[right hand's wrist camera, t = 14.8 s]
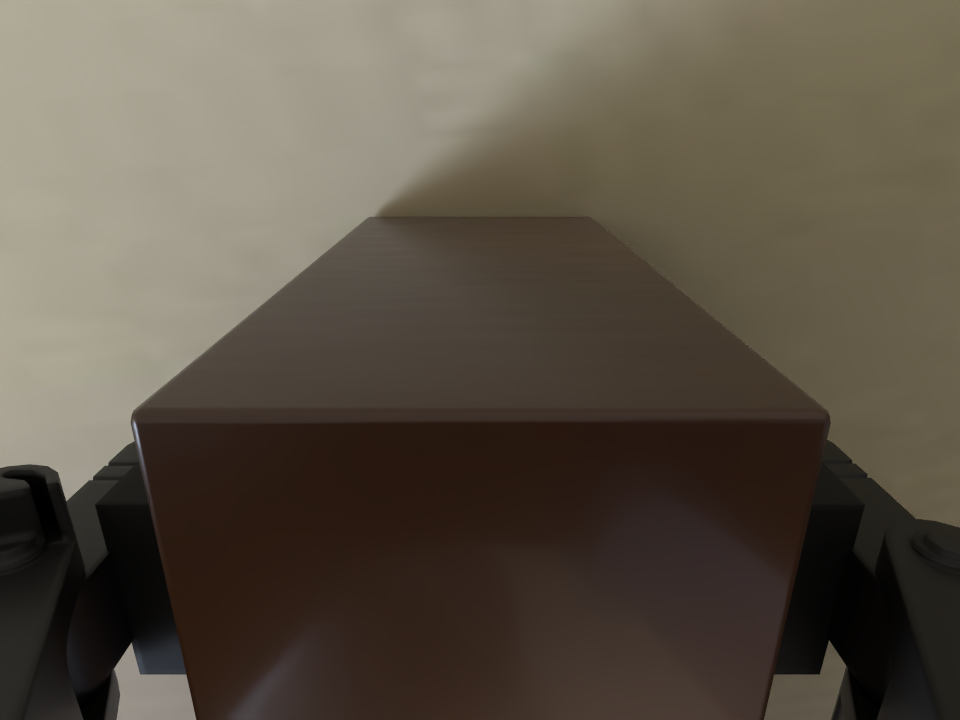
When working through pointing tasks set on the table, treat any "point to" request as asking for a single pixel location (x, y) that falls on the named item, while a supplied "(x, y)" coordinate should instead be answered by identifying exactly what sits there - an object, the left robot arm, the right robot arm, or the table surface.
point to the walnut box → (480, 488)
